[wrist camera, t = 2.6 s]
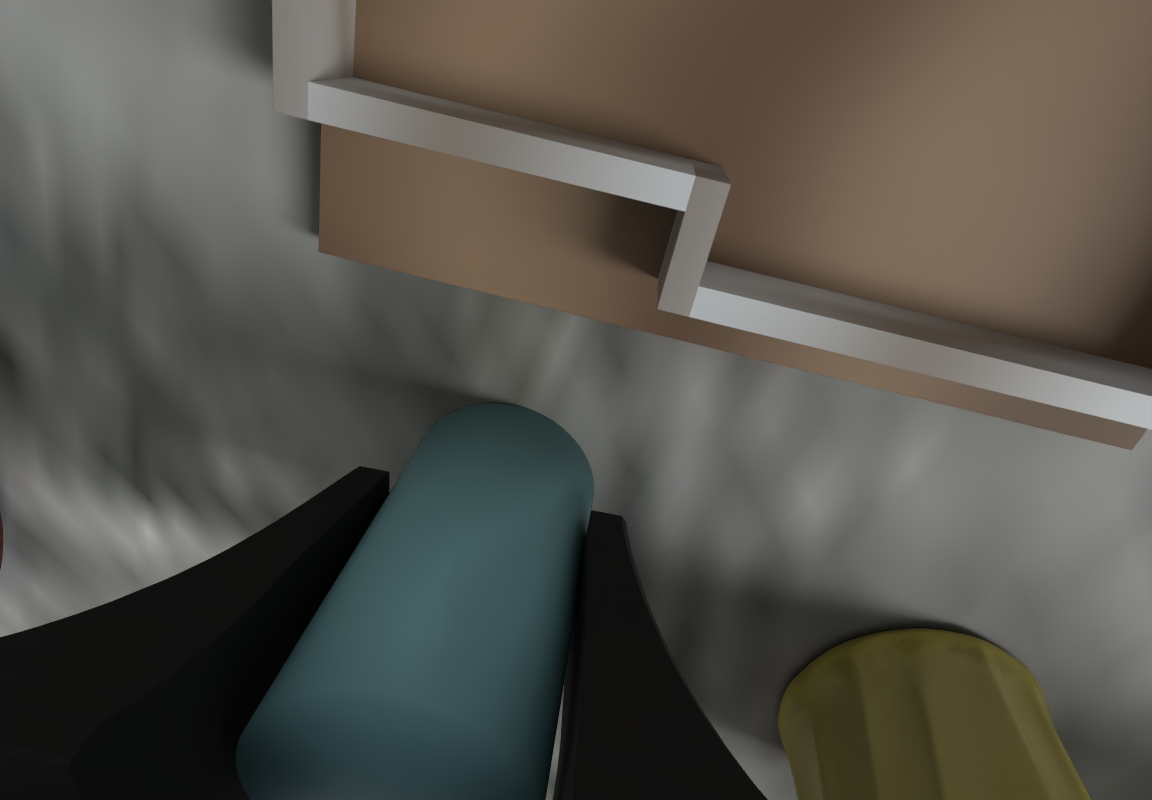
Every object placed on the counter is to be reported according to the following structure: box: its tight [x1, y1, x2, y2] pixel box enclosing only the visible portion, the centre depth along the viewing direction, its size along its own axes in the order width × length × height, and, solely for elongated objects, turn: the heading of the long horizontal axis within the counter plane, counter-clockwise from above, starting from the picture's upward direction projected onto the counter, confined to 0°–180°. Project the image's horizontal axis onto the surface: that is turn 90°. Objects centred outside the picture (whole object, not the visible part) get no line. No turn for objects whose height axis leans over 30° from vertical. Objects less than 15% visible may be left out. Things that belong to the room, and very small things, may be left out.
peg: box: [236, 403, 594, 800], centre depth 12 cm, size 4×4×7 cm
